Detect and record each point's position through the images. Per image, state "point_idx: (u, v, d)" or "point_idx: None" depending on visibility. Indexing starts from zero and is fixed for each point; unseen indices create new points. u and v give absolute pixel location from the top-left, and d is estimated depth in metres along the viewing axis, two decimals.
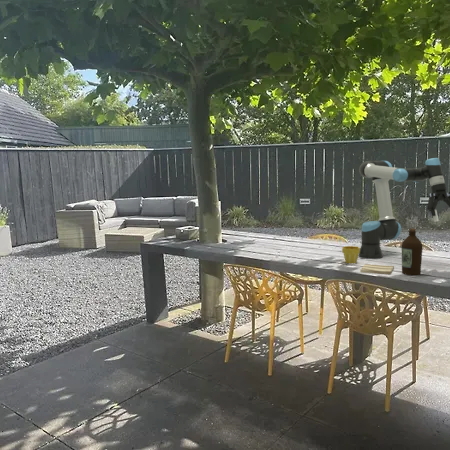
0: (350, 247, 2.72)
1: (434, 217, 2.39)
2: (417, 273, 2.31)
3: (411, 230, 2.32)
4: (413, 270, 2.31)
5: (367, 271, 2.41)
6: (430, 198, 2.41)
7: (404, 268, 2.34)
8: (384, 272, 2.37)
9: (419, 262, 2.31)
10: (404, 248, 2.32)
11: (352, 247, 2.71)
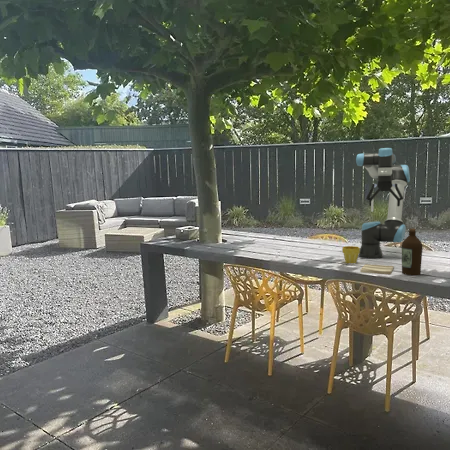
0: (350, 247, 2.72)
1: None
2: (417, 273, 2.31)
3: (411, 230, 2.32)
4: (413, 270, 2.31)
5: (367, 271, 2.41)
6: (371, 188, 2.52)
7: (404, 268, 2.34)
8: (384, 272, 2.37)
9: (419, 262, 2.31)
10: (404, 248, 2.32)
11: (352, 247, 2.71)
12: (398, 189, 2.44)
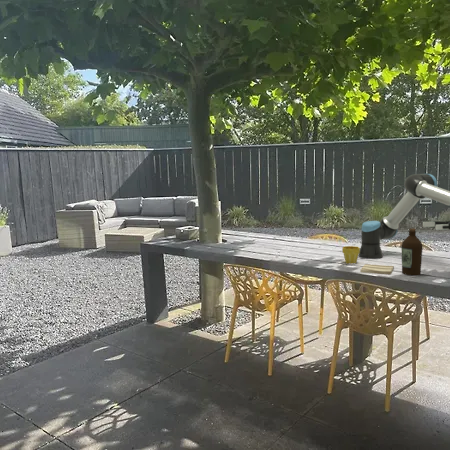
0: (350, 247, 2.72)
1: (440, 226, 2.26)
2: (417, 273, 2.31)
3: (411, 230, 2.32)
4: (413, 270, 2.31)
5: (367, 271, 2.41)
6: None
7: (404, 268, 2.34)
8: (384, 272, 2.37)
9: (419, 262, 2.31)
10: (404, 248, 2.32)
11: (352, 247, 2.71)
12: None
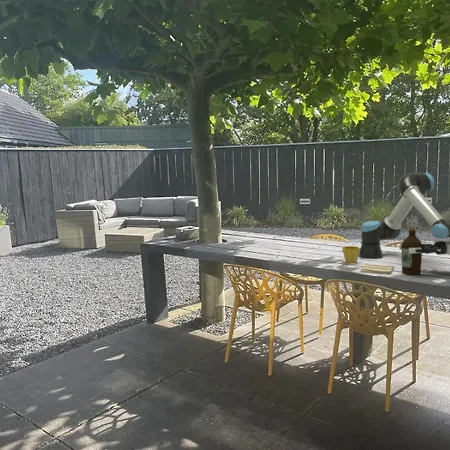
0: (350, 247, 2.72)
1: (413, 249, 2.28)
2: (417, 273, 2.31)
3: (411, 230, 2.32)
4: (413, 270, 2.31)
5: (367, 271, 2.41)
6: (435, 250, 2.28)
7: (404, 268, 2.34)
8: (384, 272, 2.37)
9: (419, 262, 2.31)
10: (404, 248, 2.32)
11: (352, 247, 2.71)
12: None
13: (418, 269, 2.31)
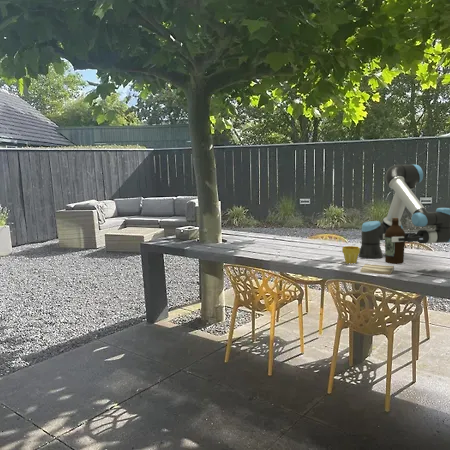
0: (350, 247, 2.72)
1: (396, 238, 2.31)
2: (400, 261, 2.35)
3: (394, 219, 2.35)
4: (396, 259, 2.34)
5: (367, 271, 2.41)
6: (417, 239, 2.31)
7: (388, 256, 2.37)
8: (384, 272, 2.37)
9: (402, 251, 2.34)
10: (387, 237, 2.35)
11: (352, 247, 2.71)
12: None
13: (401, 258, 2.34)
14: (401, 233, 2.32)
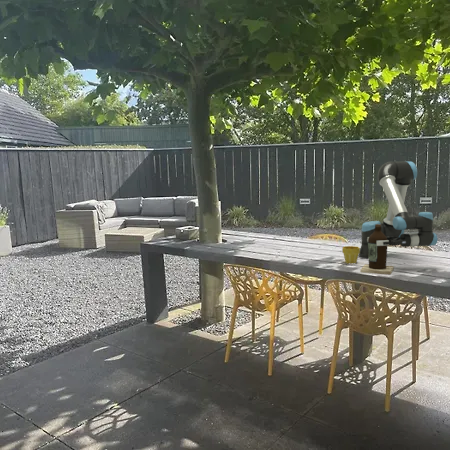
0: (350, 247, 2.72)
1: (381, 242, 2.37)
2: (382, 267, 2.41)
3: (377, 225, 2.42)
4: (378, 264, 2.41)
5: (367, 271, 2.41)
6: (401, 242, 2.37)
7: (370, 262, 2.44)
8: (384, 272, 2.37)
9: (384, 256, 2.41)
10: (370, 243, 2.42)
11: (352, 247, 2.71)
12: None
13: (383, 263, 2.41)
14: (383, 239, 2.39)
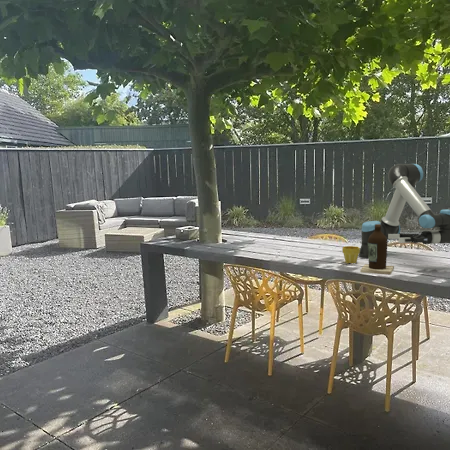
0: (350, 247, 2.72)
1: (403, 239, 2.38)
2: (382, 267, 2.41)
3: (376, 226, 2.42)
4: (378, 264, 2.41)
5: (367, 271, 2.41)
6: (422, 239, 2.38)
7: (370, 262, 2.44)
8: (384, 272, 2.37)
9: (384, 256, 2.41)
10: (370, 243, 2.42)
11: (352, 247, 2.71)
12: None
13: (383, 263, 2.41)
14: (383, 239, 2.39)
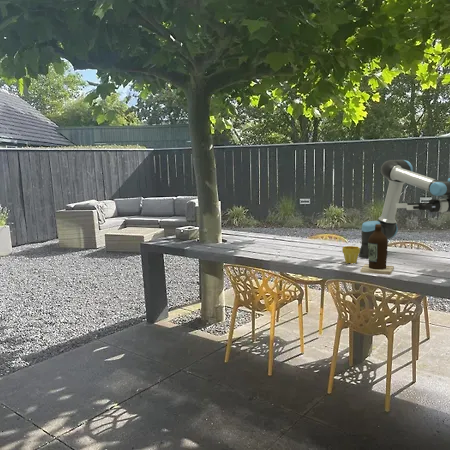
0: (350, 247, 2.72)
1: (411, 206, 2.39)
2: (382, 267, 2.41)
3: (377, 226, 2.42)
4: (378, 264, 2.41)
5: (367, 271, 2.41)
6: (431, 207, 2.39)
7: (370, 262, 2.44)
8: (384, 272, 2.37)
9: (384, 256, 2.41)
10: (370, 243, 2.42)
11: (352, 247, 2.71)
12: None
13: (383, 263, 2.41)
14: (383, 239, 2.39)
